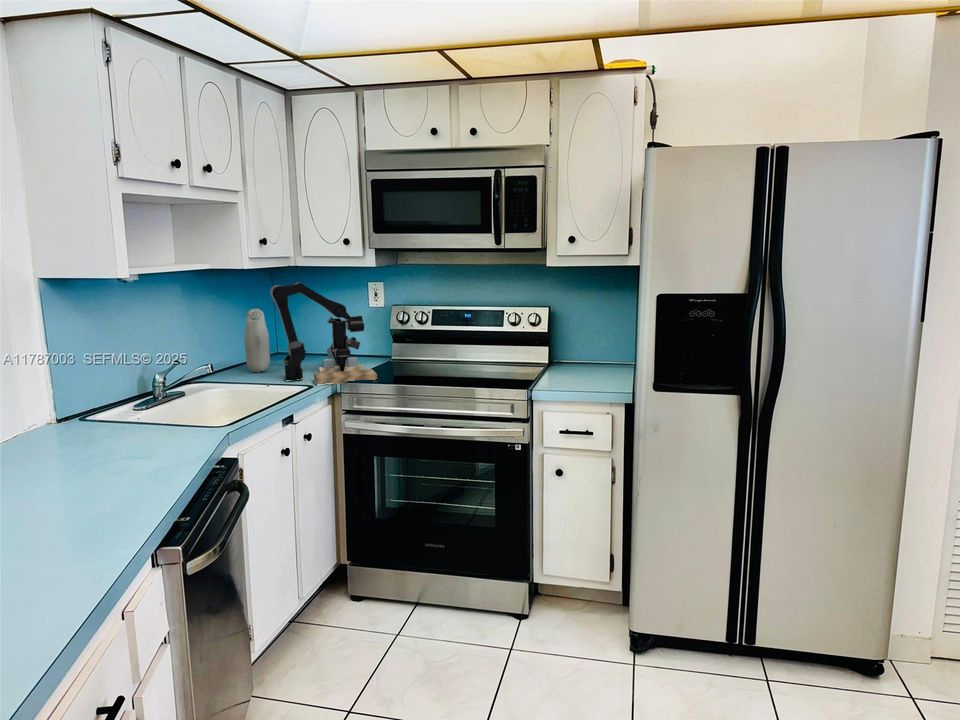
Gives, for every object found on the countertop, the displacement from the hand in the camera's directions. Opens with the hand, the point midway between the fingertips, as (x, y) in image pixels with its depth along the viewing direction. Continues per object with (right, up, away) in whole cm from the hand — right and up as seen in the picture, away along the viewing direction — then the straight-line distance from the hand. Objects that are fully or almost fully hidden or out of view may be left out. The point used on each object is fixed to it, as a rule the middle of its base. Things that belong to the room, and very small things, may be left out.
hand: (341, 369), depth 294 cm
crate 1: (-5, +1, -2) cm, 5 cm away
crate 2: (+5, +1, +1) cm, 5 cm away
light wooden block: (0, -3, +1) cm, 3 cm away
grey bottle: (-38, -1, +11) cm, 40 cm away
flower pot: (-5, +1, +22) cm, 22 cm away
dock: (+4, -5, -11) cm, 12 cm away
